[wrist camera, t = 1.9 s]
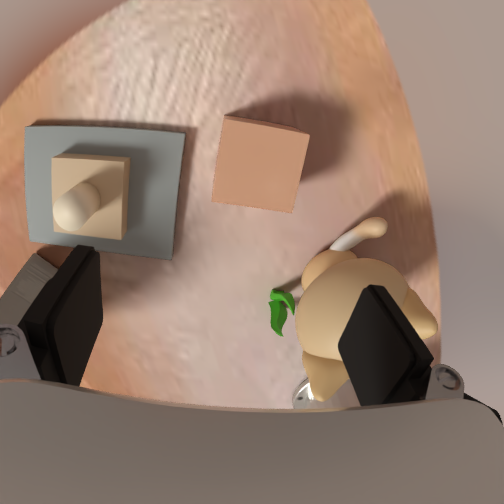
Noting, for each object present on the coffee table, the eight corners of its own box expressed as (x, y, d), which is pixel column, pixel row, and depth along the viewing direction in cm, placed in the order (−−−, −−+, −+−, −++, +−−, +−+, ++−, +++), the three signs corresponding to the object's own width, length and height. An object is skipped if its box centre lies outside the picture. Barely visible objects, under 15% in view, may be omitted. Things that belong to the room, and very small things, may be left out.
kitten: (291, 334, 37) (320, 442, 24) (241, 279, 33) (255, 397, 20) (398, 266, 34) (469, 354, 21) (363, 197, 30) (452, 276, 17)
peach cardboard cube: (292, 127, 26) (310, 134, 21) (278, 190, 29) (292, 213, 24) (224, 114, 26) (224, 119, 20) (213, 180, 28) (211, 201, 23)
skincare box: (35, 249, 29) (-43, 344, 15) (85, 284, 32) (28, 394, 18) (19, 297, 32) (-41, 388, 18) (63, 328, 34) (17, 428, 20)
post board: (186, 132, 26) (175, 142, 20) (172, 255, 31) (163, 292, 25) (30, 125, 23) (-9, 136, 18) (34, 237, 29) (4, 266, 23)
